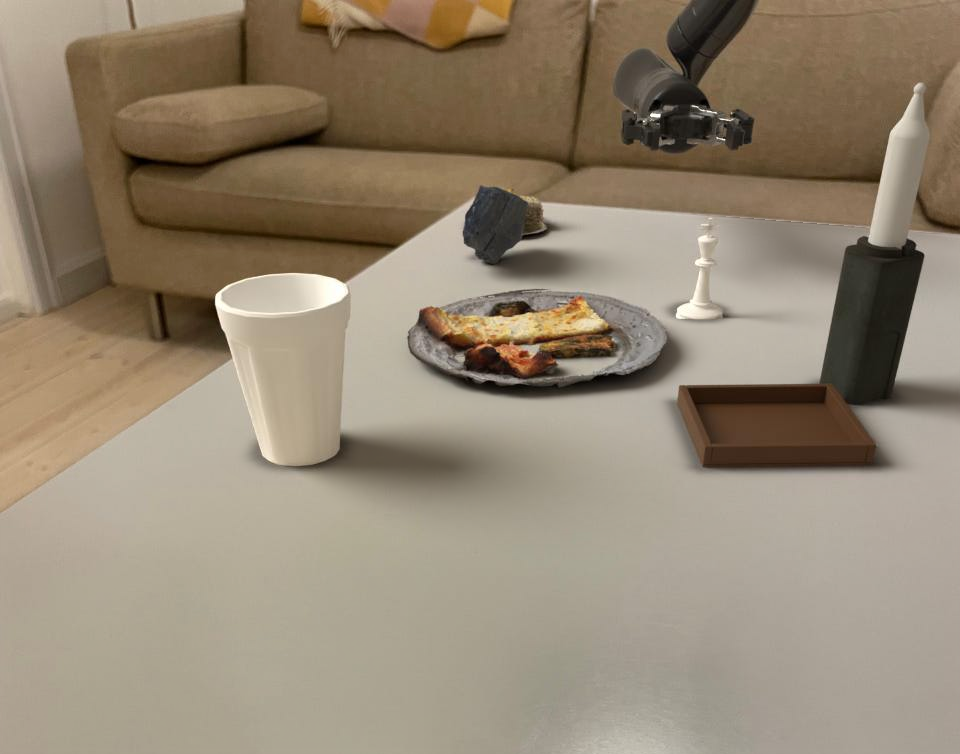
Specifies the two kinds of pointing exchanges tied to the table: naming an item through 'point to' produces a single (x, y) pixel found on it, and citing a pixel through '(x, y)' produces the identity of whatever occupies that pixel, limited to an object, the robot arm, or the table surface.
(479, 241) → the stone
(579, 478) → the table surface
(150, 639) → the table surface
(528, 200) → the cake
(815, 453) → the serving tray
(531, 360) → the food plate
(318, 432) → the cup
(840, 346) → the candle
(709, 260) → the chess piece
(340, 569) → the table surface
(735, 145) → the robot arm
